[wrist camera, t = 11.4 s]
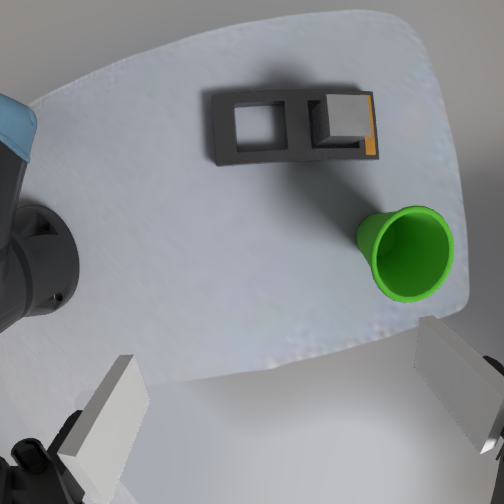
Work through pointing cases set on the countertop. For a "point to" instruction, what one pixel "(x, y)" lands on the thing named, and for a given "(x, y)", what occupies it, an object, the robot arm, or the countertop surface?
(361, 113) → the gray squarish block
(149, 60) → the countertop surface
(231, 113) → the dark grey flat frame
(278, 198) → the countertop surface
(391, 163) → the countertop surface
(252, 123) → the countertop surface
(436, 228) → the cup
